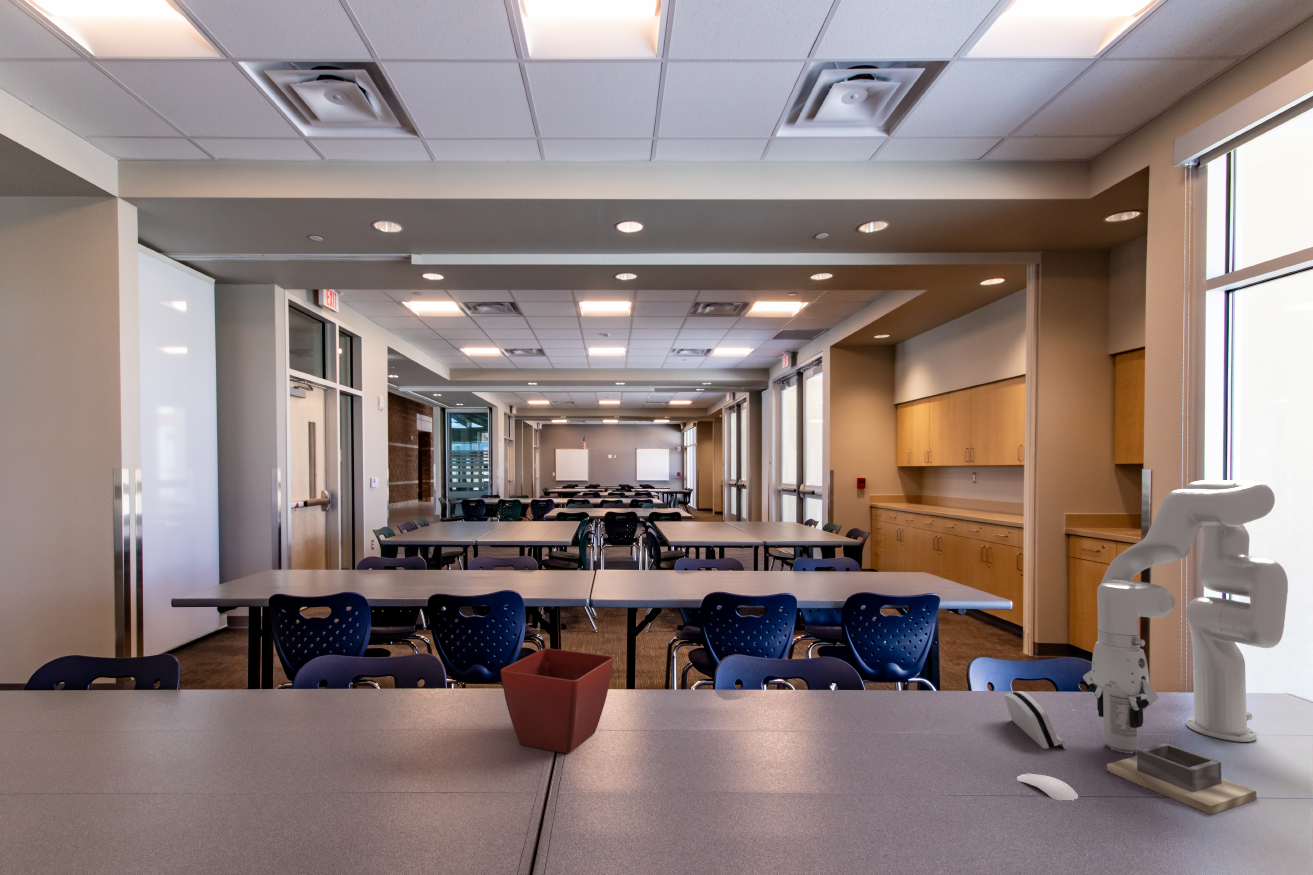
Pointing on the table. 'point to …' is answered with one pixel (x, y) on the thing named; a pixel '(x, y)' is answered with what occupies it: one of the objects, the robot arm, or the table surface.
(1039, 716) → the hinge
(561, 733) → the plant pot
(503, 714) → the table surface
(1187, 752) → the socket board
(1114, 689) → the energy drink can
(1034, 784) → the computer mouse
